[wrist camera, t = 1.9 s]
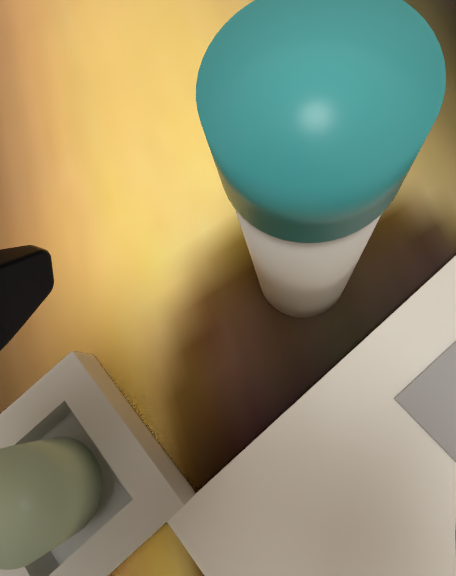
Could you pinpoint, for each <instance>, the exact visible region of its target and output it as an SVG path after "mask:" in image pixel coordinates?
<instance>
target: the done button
mask: <svg viewBox="0 0 456 576" xmlns="http://www.w3.org/2000/svg"><path fill="white" fill-rule="evenodd" d="M101 495H102V474H101V470H100V466H99V464H98V461H97V459H96V457H95V456H94V454H93V453H92V452H91V450H90V449H89V448H88V447H87V446H86V445H84V444H83V443H82V442H80V441H78V440H76V439H73V438H69V437H53V438H48V439H43V440H38V441H33V442H28V443H23V444H18V445H13V446H8V447H5V448H1V449H0V569H2V570H12V569H18V568H22V567H24V566H27V565H29V564H30V563H32V562H34V561H35V560H37V559H38V558H40V557H42V556H43V555H45V554H46V553H48V552H49V551H51V550H52V549H54V548H55V547H57V546H58V545H60V544H61V543H63V542H64V541H66V540H67V539H69V538H70V537H72V536H73V535H75V534H76V533H78V532H79V531H80V530H82V529H83V528H84V527H85V526H86V525H87V524H88V523H89V522H90V520H91V519H92V518H93V516H94V514H95V513H96V511H97V508H98V506H99V503H100V500H101Z"/></svg>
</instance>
